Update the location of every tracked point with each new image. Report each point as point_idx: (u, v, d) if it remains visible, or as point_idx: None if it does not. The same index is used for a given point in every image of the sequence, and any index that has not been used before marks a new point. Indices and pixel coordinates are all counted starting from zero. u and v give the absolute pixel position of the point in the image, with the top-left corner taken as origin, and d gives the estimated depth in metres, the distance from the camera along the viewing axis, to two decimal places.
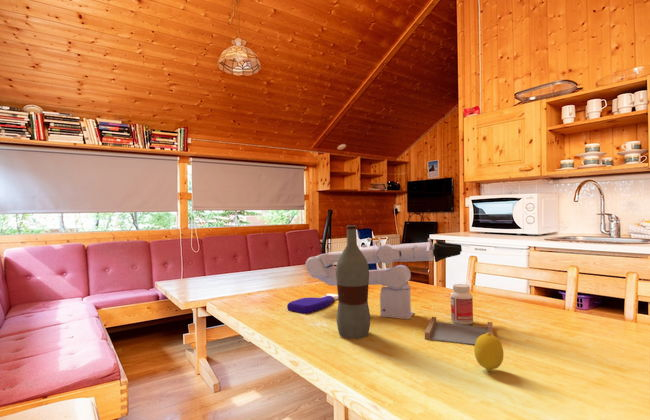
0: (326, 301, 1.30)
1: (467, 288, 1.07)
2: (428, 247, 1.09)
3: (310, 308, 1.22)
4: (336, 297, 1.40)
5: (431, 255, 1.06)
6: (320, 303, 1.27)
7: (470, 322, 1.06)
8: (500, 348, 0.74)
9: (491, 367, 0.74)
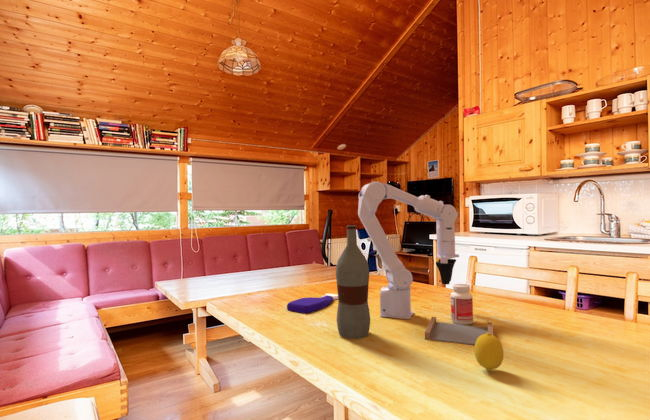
0: (326, 301, 1.30)
1: (467, 288, 1.07)
2: (450, 257, 1.14)
3: (309, 308, 1.22)
4: (335, 297, 1.40)
5: (442, 261, 1.13)
6: (320, 303, 1.27)
7: (470, 322, 1.06)
8: (500, 348, 0.74)
9: (491, 367, 0.74)
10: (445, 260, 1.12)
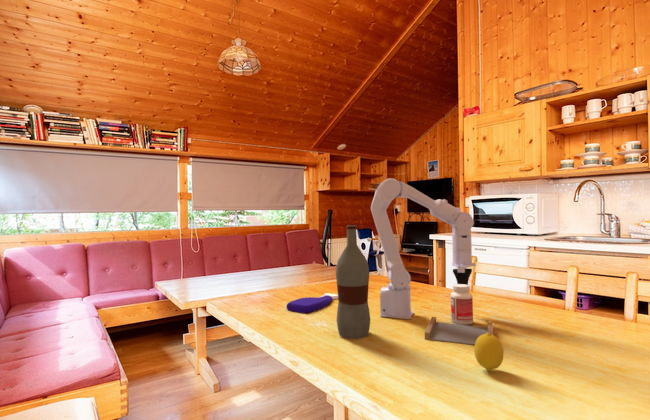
0: (325, 301, 1.31)
1: (467, 288, 1.07)
2: (467, 266, 1.12)
3: (309, 308, 1.22)
4: (334, 297, 1.41)
5: (459, 271, 1.10)
6: (319, 303, 1.27)
7: (470, 322, 1.06)
8: (500, 348, 0.74)
9: (491, 367, 0.74)
10: (462, 269, 1.09)
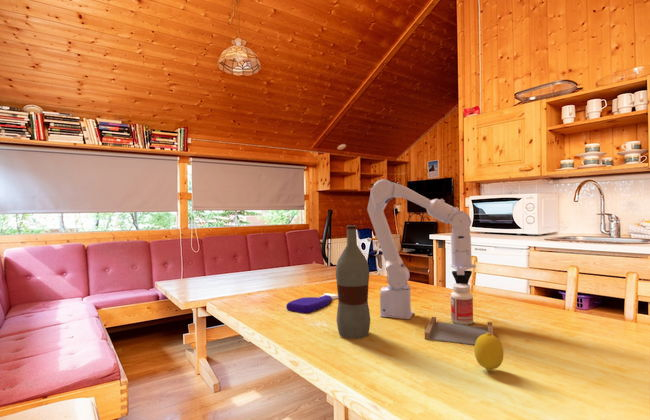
0: (325, 300, 1.31)
1: (467, 288, 1.06)
2: (466, 268, 1.07)
3: (309, 308, 1.22)
4: (334, 296, 1.41)
5: (458, 273, 1.05)
6: (319, 303, 1.27)
7: (470, 322, 1.06)
8: (500, 348, 0.74)
9: (491, 367, 0.74)
10: (462, 271, 1.05)
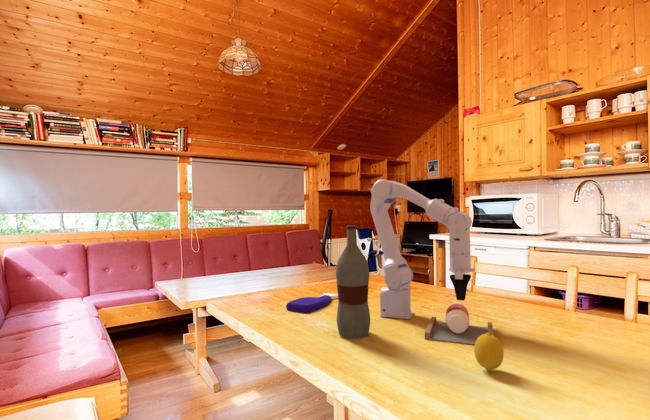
0: (324, 300, 1.31)
1: (466, 327, 0.96)
2: (465, 272, 1.01)
3: (309, 308, 1.23)
4: (333, 296, 1.41)
5: (456, 277, 1.00)
6: (319, 302, 1.27)
7: None
8: (500, 348, 0.74)
9: (491, 367, 0.74)
10: (460, 276, 0.99)
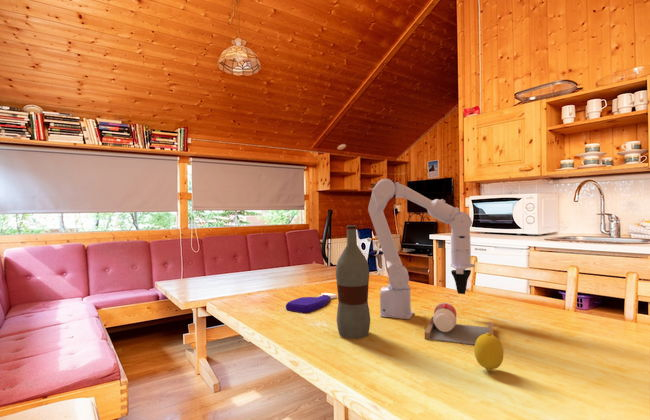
0: (324, 300, 1.31)
1: (450, 317, 0.97)
2: (465, 267, 1.09)
3: (309, 307, 1.23)
4: (332, 296, 1.41)
5: (457, 272, 1.07)
6: (318, 302, 1.28)
7: (452, 306, 1.06)
8: (500, 348, 0.74)
9: (491, 367, 0.74)
10: (461, 271, 1.07)
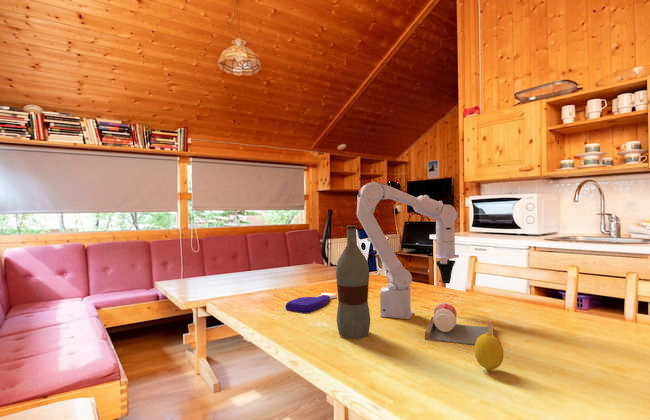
0: (323, 300, 1.31)
1: (450, 317, 0.97)
2: (449, 258, 1.14)
3: (309, 307, 1.23)
4: (331, 296, 1.42)
5: (441, 262, 1.12)
6: (318, 302, 1.28)
7: (452, 306, 1.06)
8: (500, 348, 0.74)
9: (491, 367, 0.74)
10: (445, 260, 1.11)
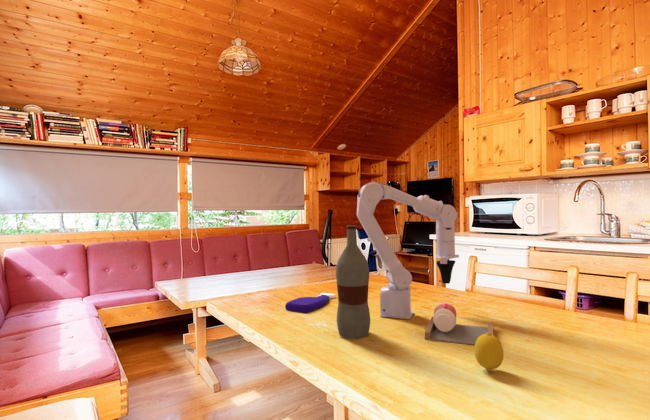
0: (323, 300, 1.32)
1: (450, 317, 0.97)
2: (449, 258, 1.14)
3: (309, 307, 1.23)
4: (331, 296, 1.42)
5: (441, 262, 1.12)
6: (318, 302, 1.28)
7: (452, 306, 1.06)
8: (500, 348, 0.74)
9: (491, 367, 0.74)
10: (445, 260, 1.11)
